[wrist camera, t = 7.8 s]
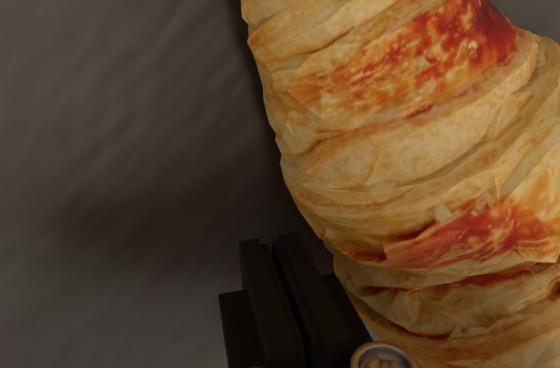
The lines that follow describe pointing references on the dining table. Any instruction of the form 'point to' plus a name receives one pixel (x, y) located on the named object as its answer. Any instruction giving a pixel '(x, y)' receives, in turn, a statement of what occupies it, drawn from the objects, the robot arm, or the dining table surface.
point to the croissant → (424, 167)
